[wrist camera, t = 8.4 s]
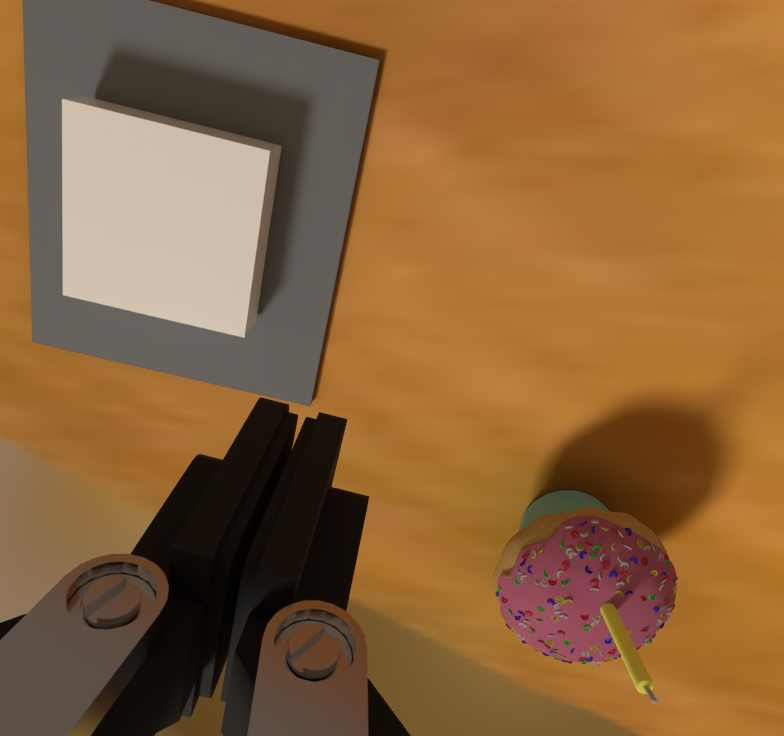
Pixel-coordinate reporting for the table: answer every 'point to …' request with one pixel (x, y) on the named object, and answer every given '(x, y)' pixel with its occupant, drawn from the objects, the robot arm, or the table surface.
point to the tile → (164, 215)
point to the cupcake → (585, 583)
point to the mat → (218, 111)
